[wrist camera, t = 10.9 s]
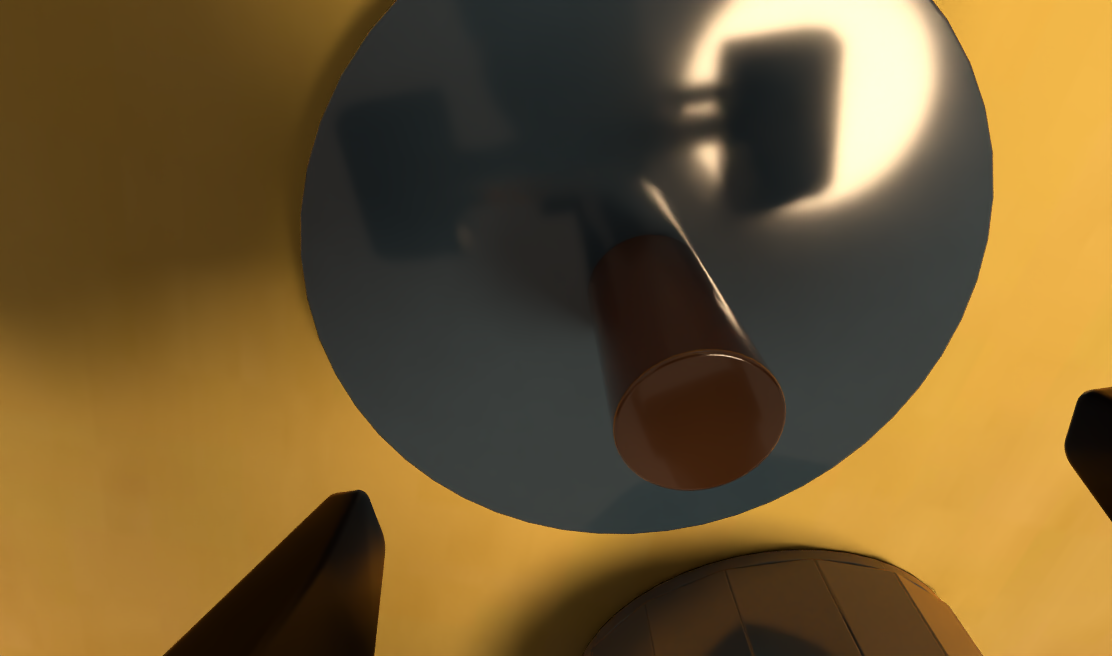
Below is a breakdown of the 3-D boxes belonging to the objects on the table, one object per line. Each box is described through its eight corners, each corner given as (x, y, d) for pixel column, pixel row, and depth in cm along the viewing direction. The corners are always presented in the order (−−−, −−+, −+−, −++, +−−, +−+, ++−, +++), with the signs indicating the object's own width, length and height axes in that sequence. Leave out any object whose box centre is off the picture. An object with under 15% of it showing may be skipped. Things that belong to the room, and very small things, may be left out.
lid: (1091, 201, 13) (1429, 325, 8) (666, 572, 18) (716, 790, 13) (583, -342, 9) (647, -758, 4) (209, 332, 14) (31, 518, 9)
